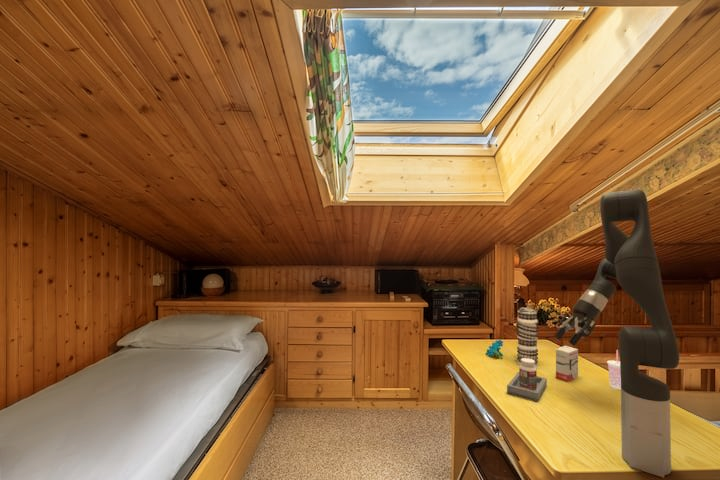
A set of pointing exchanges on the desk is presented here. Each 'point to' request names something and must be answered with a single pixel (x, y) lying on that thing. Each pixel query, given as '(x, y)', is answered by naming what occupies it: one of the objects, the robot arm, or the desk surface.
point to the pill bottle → (528, 374)
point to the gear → (495, 349)
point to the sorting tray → (533, 395)
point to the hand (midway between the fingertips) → (563, 341)
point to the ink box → (566, 363)
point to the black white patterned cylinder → (527, 335)
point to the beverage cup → (614, 373)
